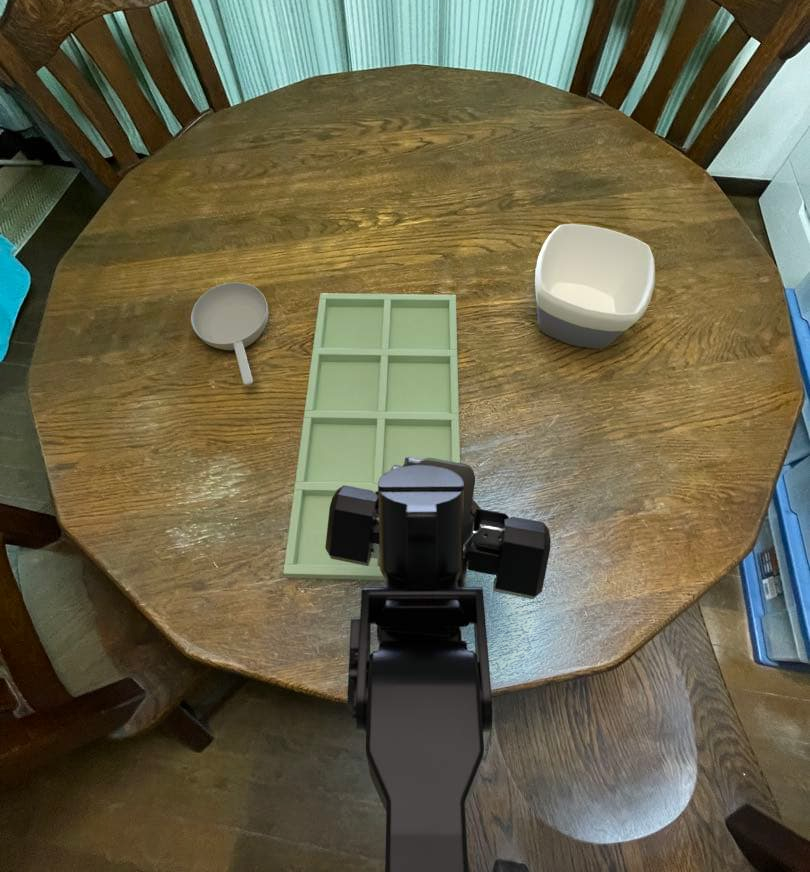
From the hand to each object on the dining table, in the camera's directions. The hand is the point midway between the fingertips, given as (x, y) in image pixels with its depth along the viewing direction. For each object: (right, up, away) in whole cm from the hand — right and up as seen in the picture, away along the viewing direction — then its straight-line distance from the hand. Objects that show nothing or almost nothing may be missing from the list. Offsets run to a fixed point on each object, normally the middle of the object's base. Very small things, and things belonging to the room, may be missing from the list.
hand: (443, 497), depth 59 cm
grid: (-7, +5, +19) cm, 21 cm away
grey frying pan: (-28, +15, +26) cm, 41 cm away
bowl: (+22, +19, +28) cm, 40 cm away
